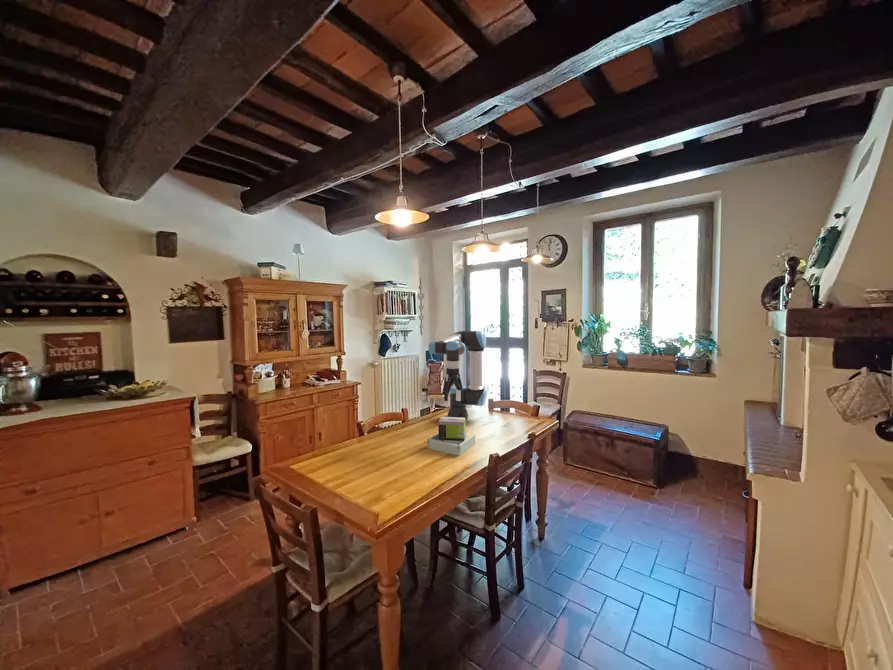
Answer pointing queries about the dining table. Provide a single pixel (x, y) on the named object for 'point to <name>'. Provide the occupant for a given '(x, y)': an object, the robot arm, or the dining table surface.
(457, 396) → the robot arm
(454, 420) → the tea box
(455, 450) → the grey tray
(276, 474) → the dining table surface
